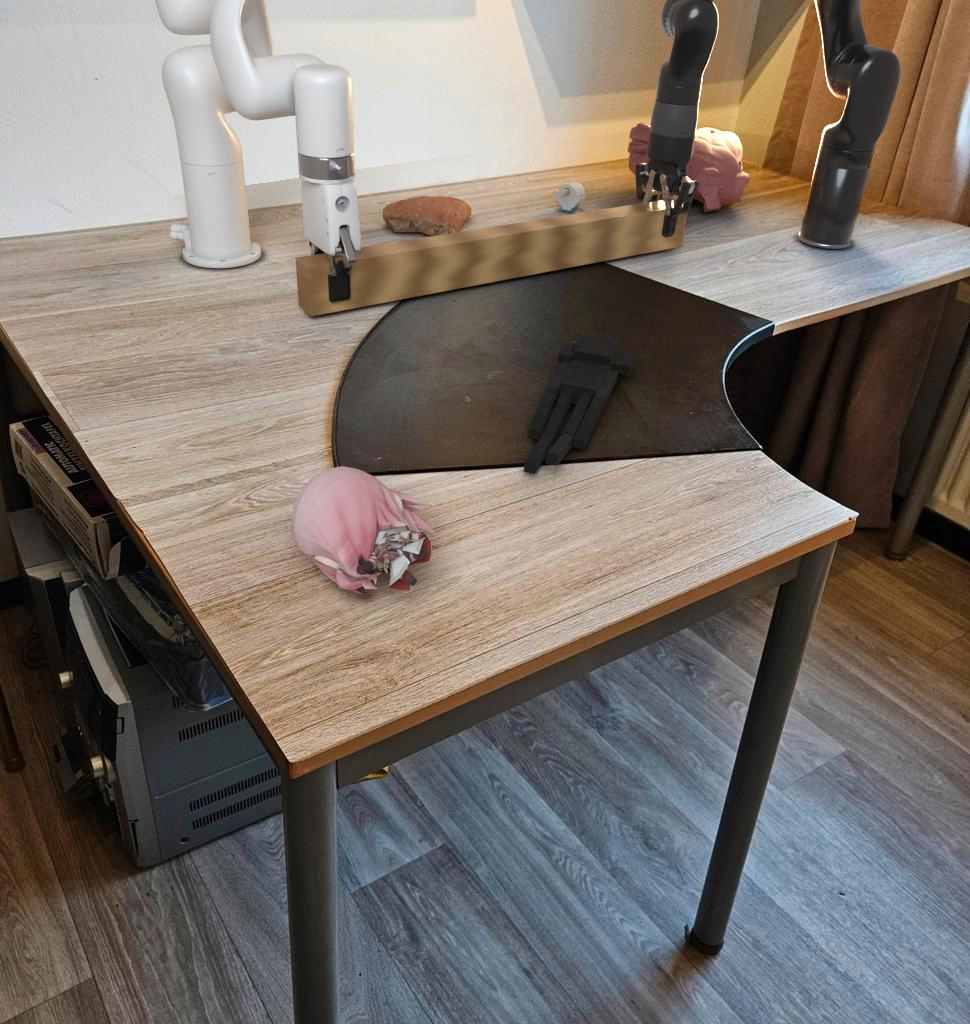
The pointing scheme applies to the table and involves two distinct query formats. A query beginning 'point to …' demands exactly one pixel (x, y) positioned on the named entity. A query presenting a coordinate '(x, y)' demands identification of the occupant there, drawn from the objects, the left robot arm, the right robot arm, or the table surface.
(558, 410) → the toy
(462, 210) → the ceramic shard
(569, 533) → the table surface
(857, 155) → the right robot arm
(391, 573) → the pink rounded lump
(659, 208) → the bar
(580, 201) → the electric motor
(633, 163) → the fabric sculpture
